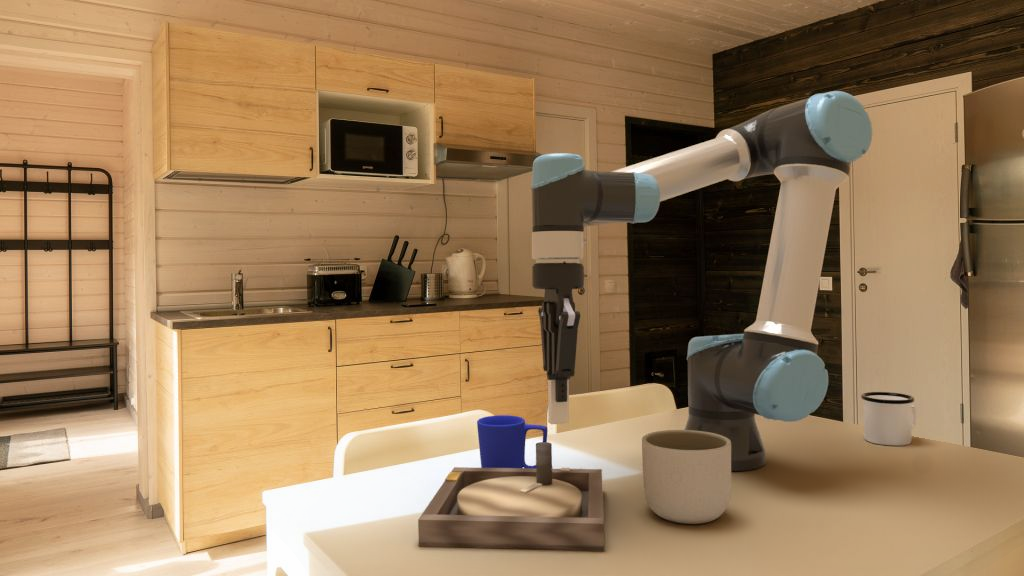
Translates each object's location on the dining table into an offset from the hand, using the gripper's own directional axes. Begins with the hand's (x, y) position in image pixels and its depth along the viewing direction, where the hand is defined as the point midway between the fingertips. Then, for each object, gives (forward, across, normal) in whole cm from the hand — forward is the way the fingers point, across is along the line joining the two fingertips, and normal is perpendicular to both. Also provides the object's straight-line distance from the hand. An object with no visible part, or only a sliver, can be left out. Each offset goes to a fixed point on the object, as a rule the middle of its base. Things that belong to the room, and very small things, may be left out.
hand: (558, 422), depth 104 cm
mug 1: (+13, +18, +3) cm, 23 cm away
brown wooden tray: (+13, 0, +6) cm, 15 cm away
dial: (+13, 0, +6) cm, 15 cm away
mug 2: (+12, +20, -76) cm, 80 cm away
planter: (+13, -6, -17) cm, 23 cm away
